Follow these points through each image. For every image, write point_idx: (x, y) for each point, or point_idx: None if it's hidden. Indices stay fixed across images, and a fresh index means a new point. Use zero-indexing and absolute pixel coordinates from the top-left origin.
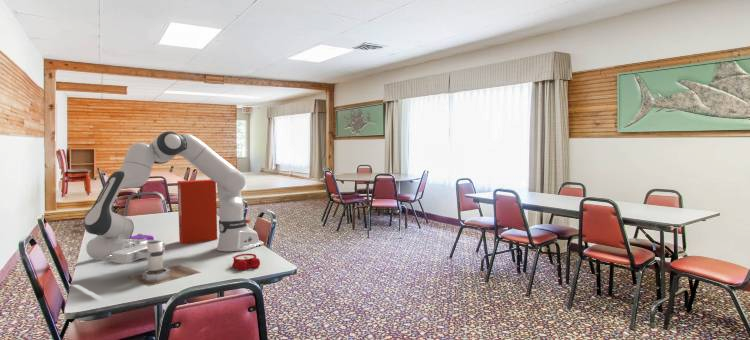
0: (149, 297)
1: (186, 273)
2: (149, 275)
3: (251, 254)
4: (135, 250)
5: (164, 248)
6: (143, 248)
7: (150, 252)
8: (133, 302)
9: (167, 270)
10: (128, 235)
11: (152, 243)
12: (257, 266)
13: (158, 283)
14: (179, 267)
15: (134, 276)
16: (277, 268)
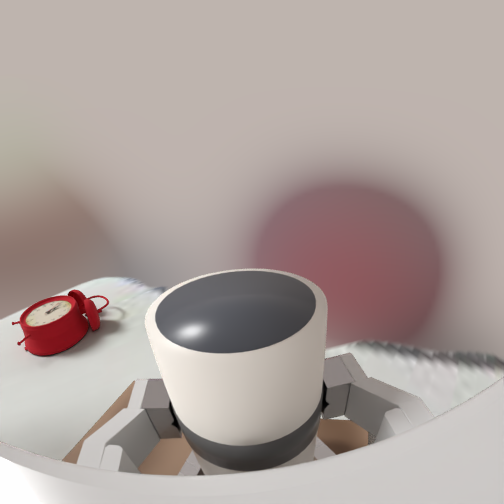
0: (402, 358)
1: None
2: (333, 453)
3: (28, 310)
4: (446, 425)
5: (139, 379)
6: (315, 463)
7: (324, 360)
8: (447, 354)
9: None
10: None
11: (298, 281)
12: (83, 307)
13: (322, 419)
14: None
15: None
16: (96, 288)
